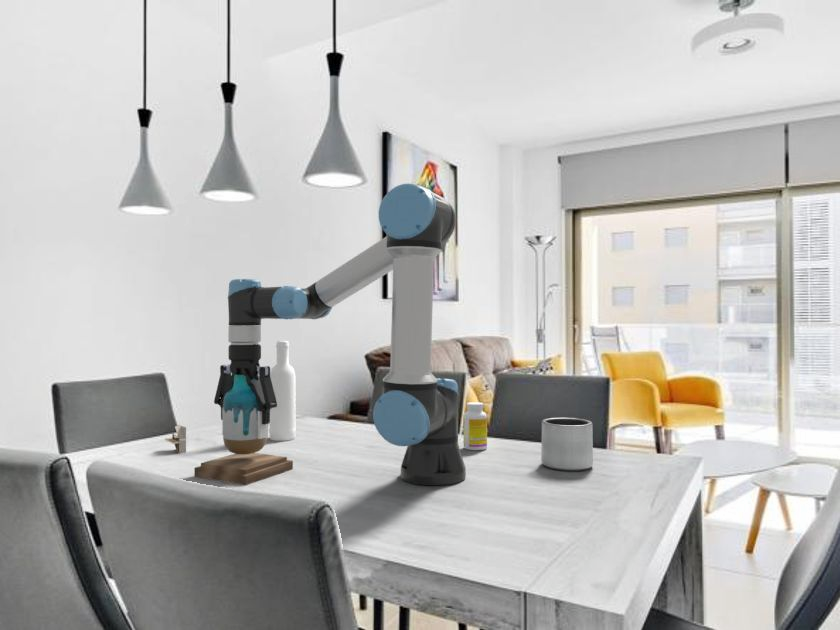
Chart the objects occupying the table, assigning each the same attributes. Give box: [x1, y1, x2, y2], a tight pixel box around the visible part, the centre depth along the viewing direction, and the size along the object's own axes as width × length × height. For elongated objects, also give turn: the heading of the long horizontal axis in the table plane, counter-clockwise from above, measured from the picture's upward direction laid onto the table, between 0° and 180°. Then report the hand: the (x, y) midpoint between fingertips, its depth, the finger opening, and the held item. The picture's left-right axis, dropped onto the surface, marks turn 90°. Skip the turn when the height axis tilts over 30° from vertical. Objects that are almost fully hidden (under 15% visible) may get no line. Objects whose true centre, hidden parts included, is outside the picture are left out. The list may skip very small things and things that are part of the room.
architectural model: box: [164, 424, 187, 454], centre depth 168 cm, size 3×7×8 cm, turn 42°
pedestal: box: [194, 452, 294, 486], centre depth 144 cm, size 16×16×3 cm
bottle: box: [268, 340, 297, 442], centre depth 185 cm, size 8×8×30 cm
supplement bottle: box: [462, 401, 488, 452], centre depth 171 cm, size 7×7×13 cm
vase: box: [221, 374, 268, 454], centre depth 145 cm, size 11×11×19 cm
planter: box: [540, 417, 594, 472], centre depth 151 cm, size 12×12×11 cm
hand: (245, 435), depth 144 cm, fingers closed on vase, 10 cm apart
